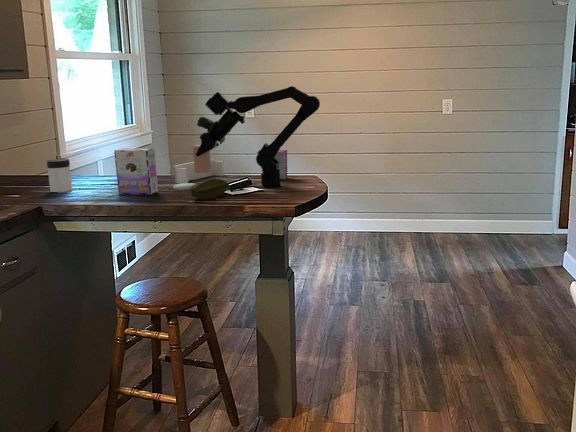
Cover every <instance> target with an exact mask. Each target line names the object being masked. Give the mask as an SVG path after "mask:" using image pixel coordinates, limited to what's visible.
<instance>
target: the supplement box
mask: <svg viewBox="0 0 576 432" xmlns="http://www.w3.org/2000/svg"><path fill="white" fill-rule="evenodd" d="M275 159H276V160H277V161H278V162H279V163H280V164H279V167H278V168H277V169H279V170H280V181H285V180H286V179H288V149H279V151H278V153H277V155H276V156H275Z"/></svg>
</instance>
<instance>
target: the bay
mask: <svg viewBox="0 0 576 432" xmlns="http://www.w3.org/2000/svg"><path fill="white" fill-rule="evenodd" d="M210 163H211V171H210V172H209V173H195V167H194V161H191V162H186V163H181V164H175V165H173V171H174V183H175V184H182V183H189V181H192V180H193V181H194V180H198V179H203V178H206V177H211V176H217V177H218V176H220V177H224V176H225V167H224V166H225V165H224V161H221V160H215V158H214V157H212V158H211V157H210Z"/></svg>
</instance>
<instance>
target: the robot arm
mask: <svg viewBox="0 0 576 432" xmlns="http://www.w3.org/2000/svg"><path fill="white" fill-rule="evenodd" d="M286 99H292V100H294V101H295V102H296V103H298V104H300V108H298V109H299V110H298V111H297V113H295V116H294V117H293V118H292V119H291V120H290V122H288V124H286V125H285V127H284V128H283V129H282V131H281V132H280V133H278V135H277V136H276V137H275V139H274V140H273V141H272V142H271V143H269V144H268V143H267V142H265V143H264V144H263V146H262V147H261V149H259V150H258V151H257V153H256V154H257V155H256V158H255V161H256V164H257V165H258V166H260V168H261V171H262V172H261V173H260V185H261V186H262V187H263V189H264V188H265V189H266V188H280V187H282V185H281V180H280V170H279V169H277V168H278V167H279V164H280V163H279V162H278V161H277V160H276V159H275V156H276V155H277V153H278V151H279V150H281V149H280V148H282V147H283V145H284V144H285V143H286V142H287V141H288V140H289V139H290V137H291V136H292V135H293V134H294V133H295V132H296V130H297V129H298V128H299V127H300V126H301V125H302V123H303V122H304V121H306V120H307V119H308V118H309V117H310V116H312V115H313V114H314V113H316V112H317V111H318V110H319V108H320V106H321V101H320V99H319V98H318V97H317V96H315V95H309V94H307V93H306V92H304V91H302V90H300V89H298V88H297V87H296V86H295V85H294V86H293V85H291V86H288V87H286V88H282V89H278V90H274V91H271V92H268V93H264V94H259V95H247V96H240V97H237V98H236V99H235V100H234V101H233V100H231V101H228V100H227V99H226V98H225V97H224V96H223V95H222V93H220V92H218V91H217V92H216V93H215V94H213V95H212V97H209V99H207V101H206V102H205V104H204V106H206V107H207V109H209V110H210V112H212V113H213V114H214V115H215V116H218V115H219V116H221V117H220V118H219V119H218V120H217V121H213V120H212V119H209V118H207V117H206V116H200V117H199V118H198V119H197V124H196V126H197V127H201V128H203V129H206V132H202V133H201V135H200V136H199V139H200V144H199V145H200V147H199V149H198V151H197V153H196V156H200V155H202V154H204V153H206V152H208V151H210V152H211V151H212V150H213V149H215V148H217V147H219V146H220V145H222V144H223V143H224V142H225V140H226V136H227V135H228V134H229V133H230V132H231V131H232V130H233V128H234V127H236V125H237V124H238V123H241V124H245V121H246V120H245V117H246V116H245V115H241V114H245V113H247V112H250V111H251V110H254V109H256V108H258V107H260V106H263V105H267V104H270V103H275V102H278V101H281V100H282V101H283V100H286ZM226 110H227V111H226ZM233 110H235V111H233Z"/></svg>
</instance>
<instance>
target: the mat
mask: <svg viewBox="0 0 576 432" xmlns="http://www.w3.org/2000/svg"><path fill="white" fill-rule="evenodd" d="M195 184H196V183H194V182H188V183H182V184H180V183H175V184H174V185H173V186H172V187H173V188H172V189H174V190H176V191H186V190H189V191H190V188H191V187H192V186H193V185H195Z"/></svg>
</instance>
